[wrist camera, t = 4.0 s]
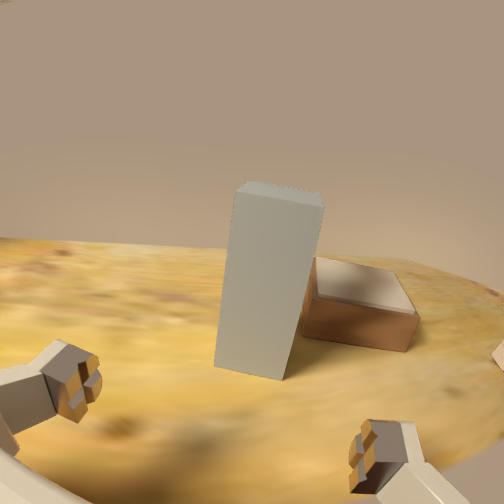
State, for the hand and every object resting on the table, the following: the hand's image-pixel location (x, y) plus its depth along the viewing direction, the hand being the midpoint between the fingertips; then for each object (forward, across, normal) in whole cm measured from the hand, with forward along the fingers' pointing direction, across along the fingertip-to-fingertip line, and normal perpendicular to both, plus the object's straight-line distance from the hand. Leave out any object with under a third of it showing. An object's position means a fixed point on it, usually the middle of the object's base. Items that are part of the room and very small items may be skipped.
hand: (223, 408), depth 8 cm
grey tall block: (+10, 0, +6) cm, 11 cm away
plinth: (+17, -7, +5) cm, 19 cm away
